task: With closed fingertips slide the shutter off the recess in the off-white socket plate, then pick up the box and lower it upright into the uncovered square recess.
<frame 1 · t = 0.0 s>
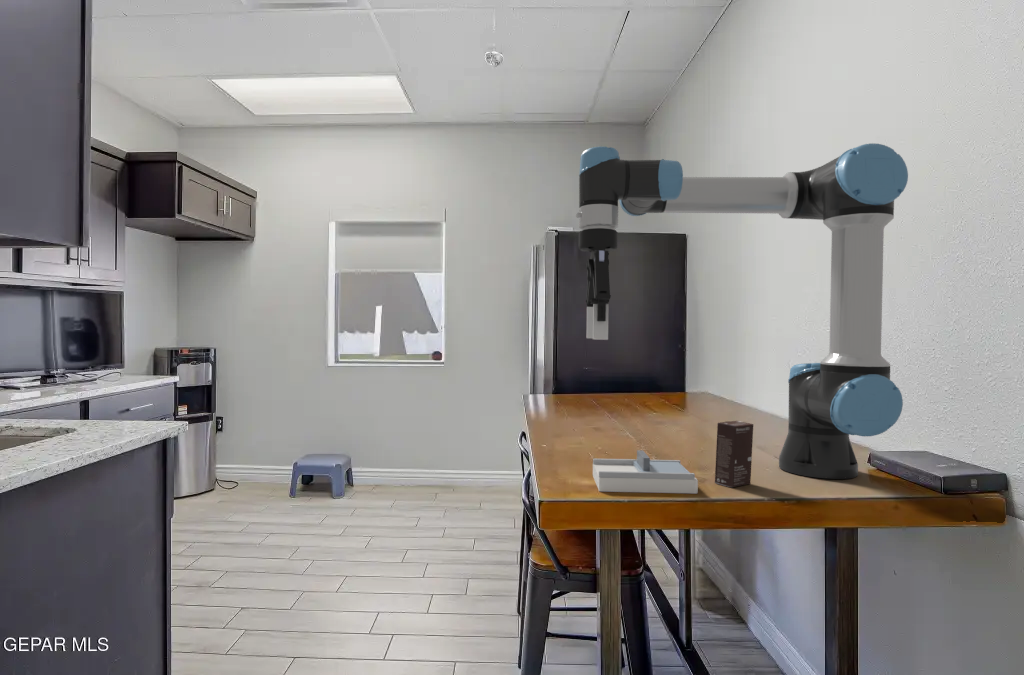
hand: (596, 339, 115), 28 cm above the table, fingers open, 13 cm apart
socket plate: (642, 483, 114), on the table
box: (733, 485, 115), on the table
shutter: (660, 462, 114), point 4 cm above the table, slide at 0.0 cm
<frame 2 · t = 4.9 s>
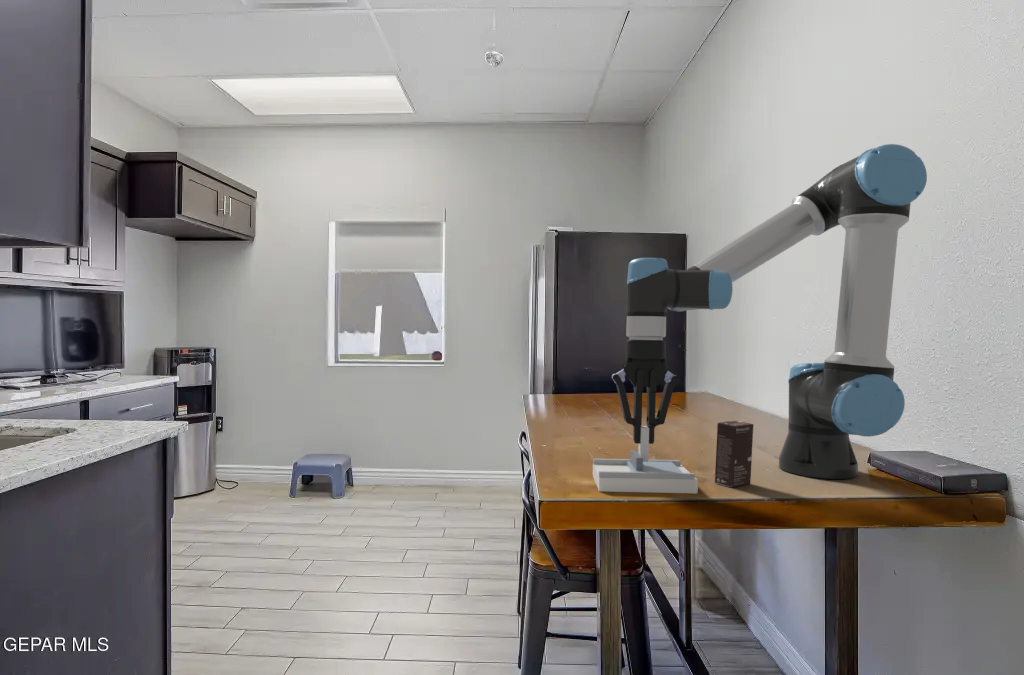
hand: (643, 460, 114), 5 cm above the table, fingers closed
shutter: (654, 462, 114), point 4 cm above the table, slide at 1.3 cm, touching gripper
everything else where it was.
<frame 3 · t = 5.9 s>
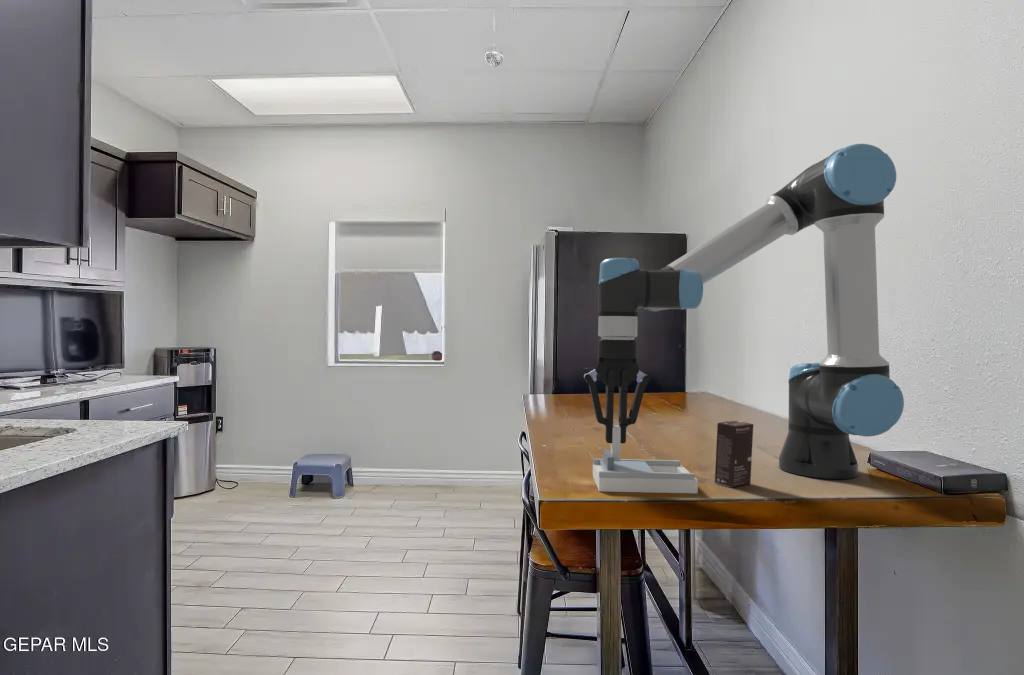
hand: (615, 459, 115), 5 cm above the table, fingers closed
shutter: (625, 461, 114), point 4 cm above the table, slide at 6.7 cm, touching gripper
everything else where it was.
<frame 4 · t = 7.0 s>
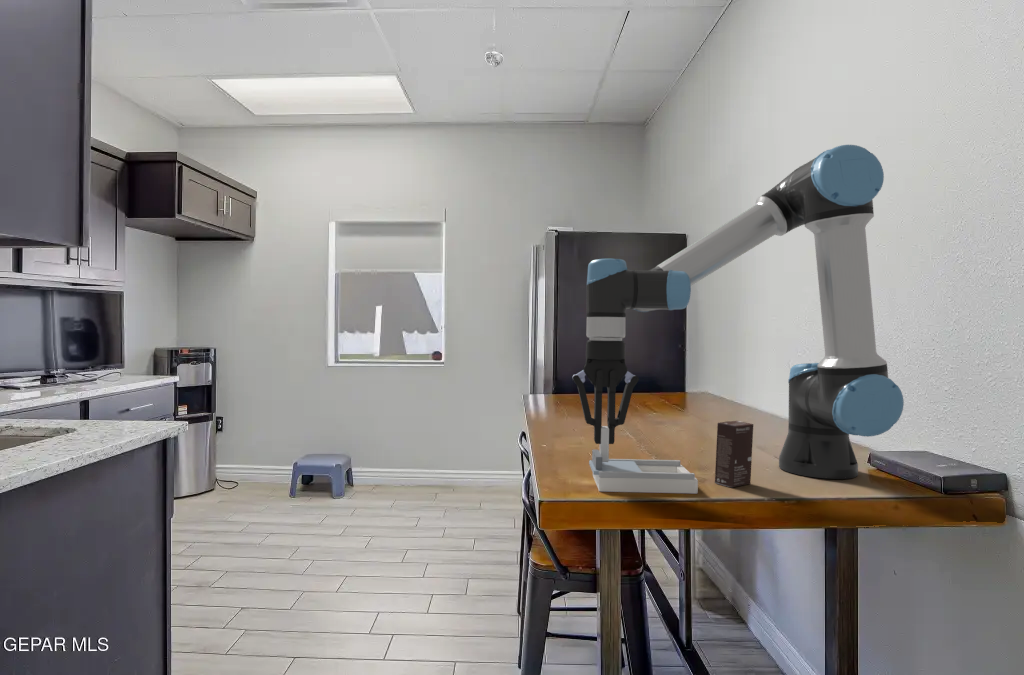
hand: (603, 460, 115), 4 cm above the table, fingers closed
shutter: (614, 461, 115), point 4 cm above the table, slide at 8.9 cm, touching gripper
everything else where it was.
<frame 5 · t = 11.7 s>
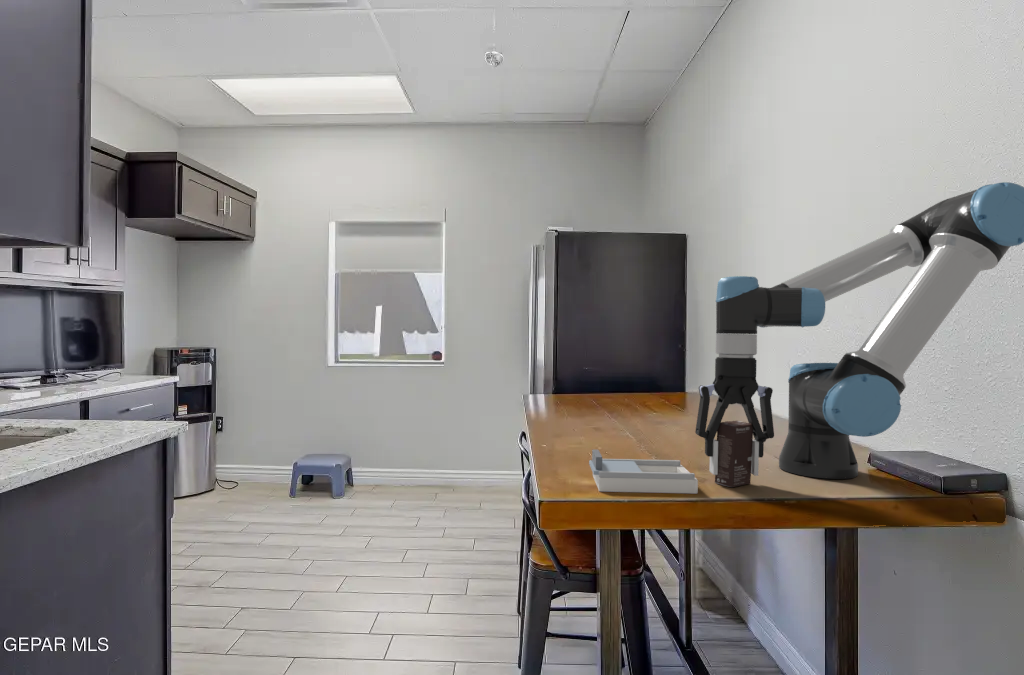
hand: (733, 473, 115), 2 cm above the table, fingers closed on box, 7 cm apart
box: (733, 484, 115), on the table, touching gripper
shutter: (614, 461, 115), point 4 cm above the table, slide at 8.9 cm
when the fingers open (3 cm above the table, at t = 17.7 s): box drops 1 cm, resting in socket plate.
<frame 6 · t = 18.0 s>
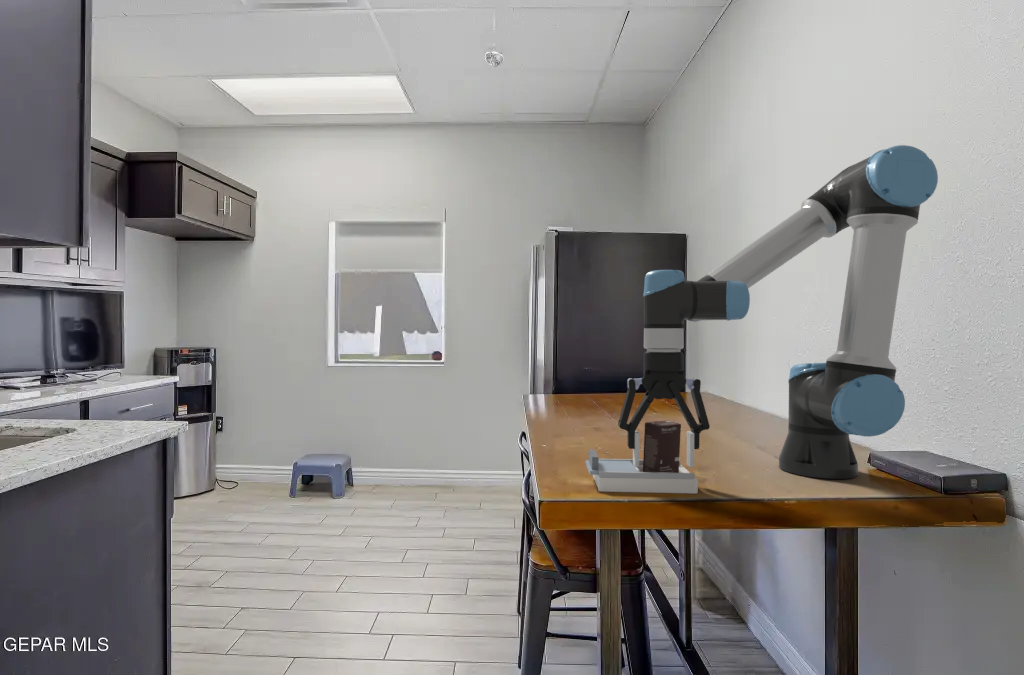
hand: (663, 465, 114), 4 cm above the table, fingers open, 10 cm apart
box: (661, 485, 114), resting in socket plate
shutter: (610, 461, 115), point 4 cm above the table, slide at 9.6 cm, touching gripper
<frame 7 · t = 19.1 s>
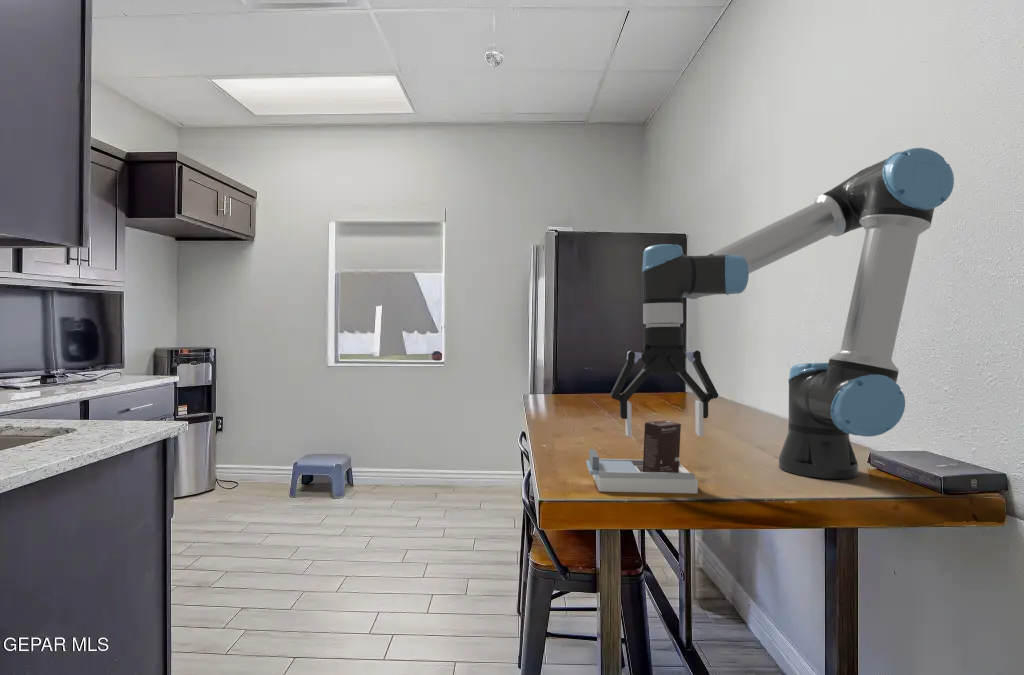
hand: (663, 435, 114), 9 cm above the table, fingers open, 13 cm apart
shutter: (611, 461, 115), point 4 cm above the table, slide at 9.5 cm
everything else where it was.
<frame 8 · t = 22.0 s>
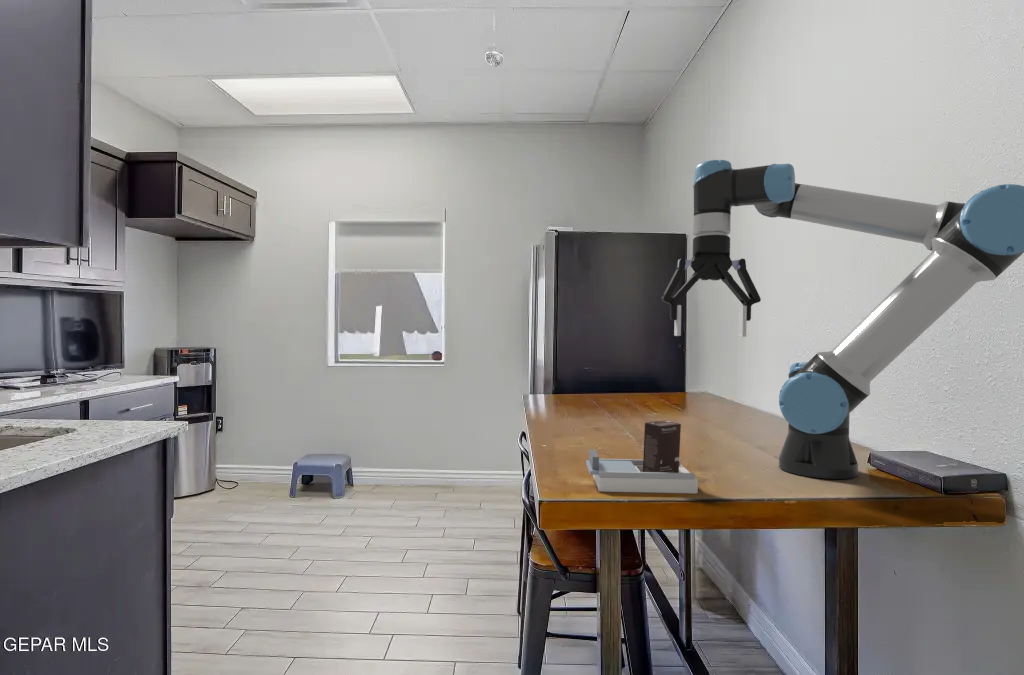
hand: (709, 336, 125), 29 cm above the table, fingers open, 13 cm apart
nothing on the table moved.
at the end: box 0.1 cm from the target spot, resting in socket plate; box tilted 0°; shutter slide at 9.5 cm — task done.
